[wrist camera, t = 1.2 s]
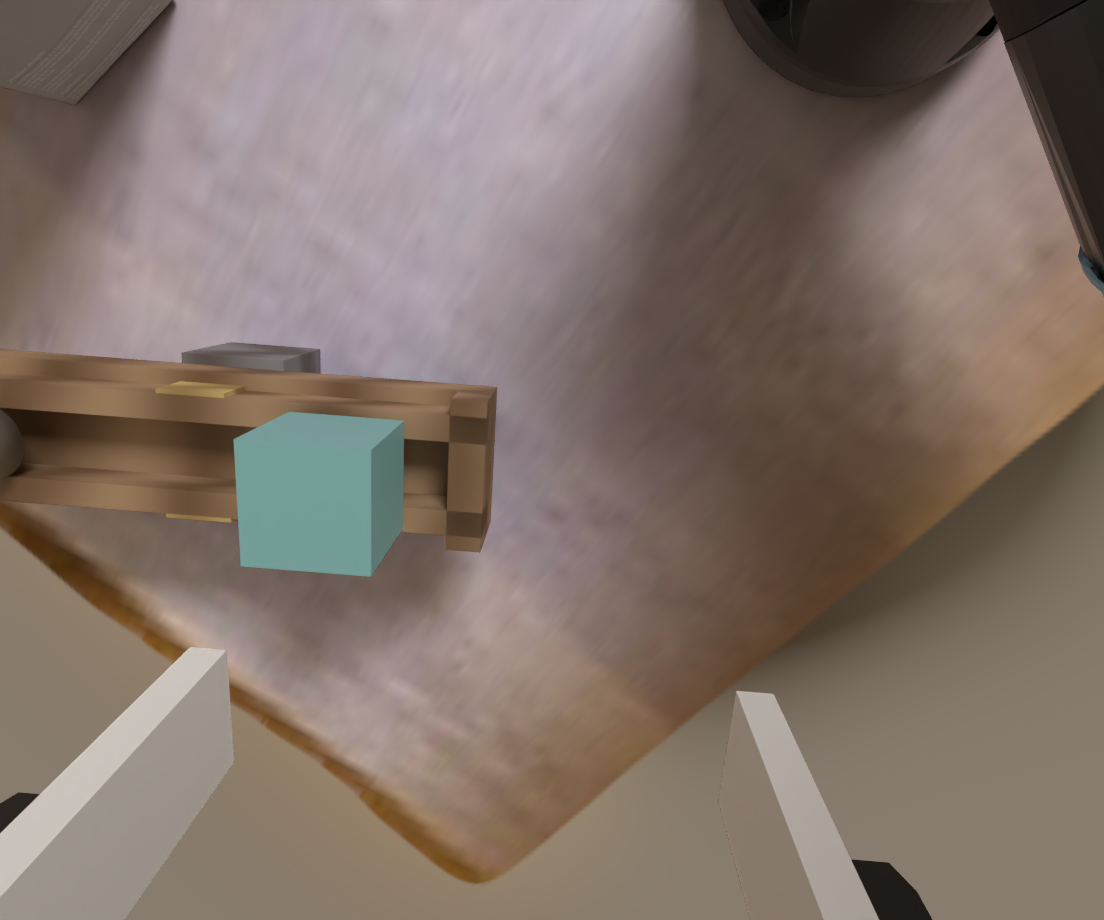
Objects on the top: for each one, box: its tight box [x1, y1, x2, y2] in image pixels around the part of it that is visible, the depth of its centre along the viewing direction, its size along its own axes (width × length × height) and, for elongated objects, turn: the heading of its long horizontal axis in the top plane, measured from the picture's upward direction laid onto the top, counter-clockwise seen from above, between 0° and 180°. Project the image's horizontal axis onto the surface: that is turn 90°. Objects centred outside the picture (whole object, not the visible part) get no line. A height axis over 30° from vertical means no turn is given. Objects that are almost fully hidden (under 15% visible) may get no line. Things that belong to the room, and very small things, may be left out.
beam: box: [0, 343, 497, 552], centre depth 33 cm, size 26×8×13 cm, turn 86°
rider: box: [234, 412, 404, 577], centre depth 29 cm, size 5×5×7 cm
